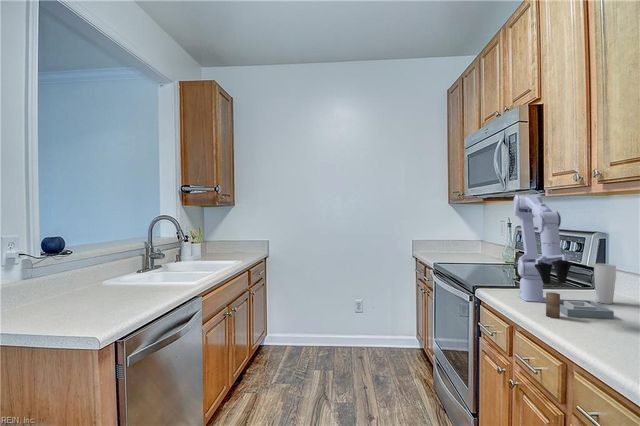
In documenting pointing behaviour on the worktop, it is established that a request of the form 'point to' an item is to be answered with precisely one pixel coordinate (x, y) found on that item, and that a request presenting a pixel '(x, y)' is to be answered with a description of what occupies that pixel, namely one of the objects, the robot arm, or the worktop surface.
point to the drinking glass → (604, 282)
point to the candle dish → (584, 309)
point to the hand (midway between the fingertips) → (554, 283)
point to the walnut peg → (552, 305)
